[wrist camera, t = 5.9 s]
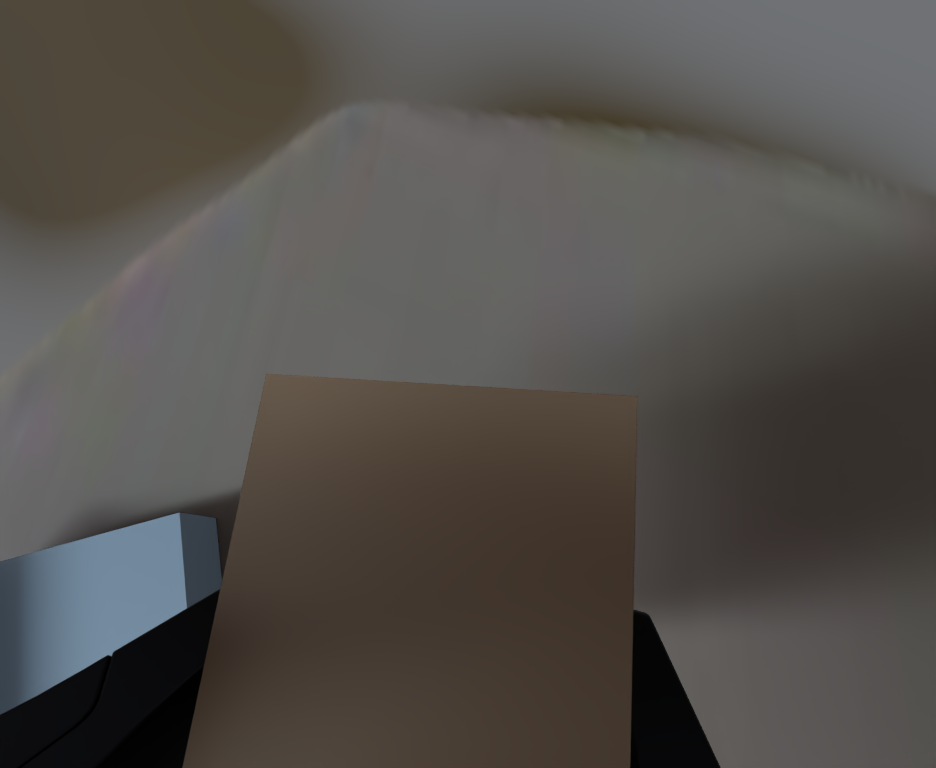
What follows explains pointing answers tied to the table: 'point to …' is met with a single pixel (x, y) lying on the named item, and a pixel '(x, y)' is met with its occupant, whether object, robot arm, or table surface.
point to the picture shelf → (98, 597)
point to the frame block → (426, 582)
